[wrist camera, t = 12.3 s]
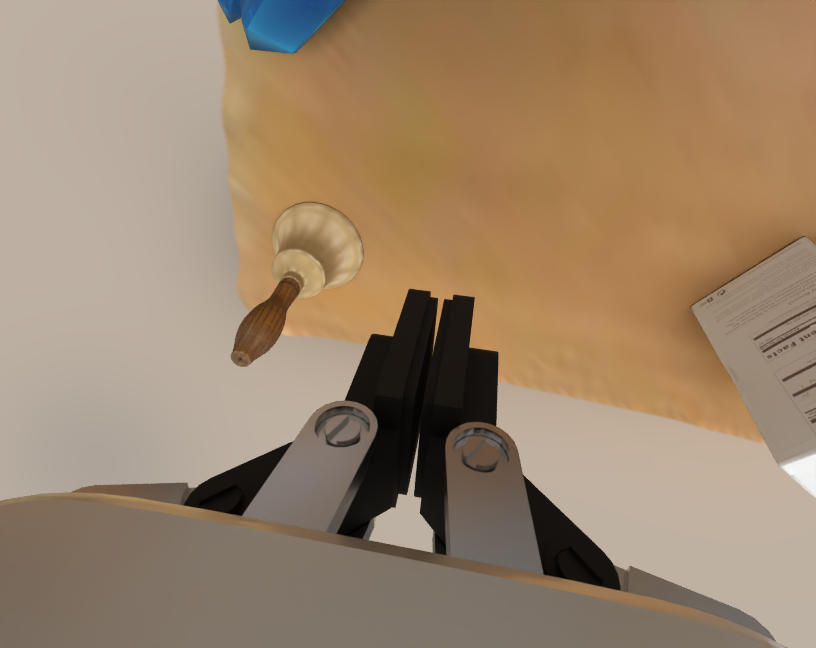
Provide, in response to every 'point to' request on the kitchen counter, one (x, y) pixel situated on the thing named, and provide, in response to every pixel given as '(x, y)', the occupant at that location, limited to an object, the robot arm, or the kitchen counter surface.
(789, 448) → the supplement box
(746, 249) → the kitchen counter surface
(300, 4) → the crystal
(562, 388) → the kitchen counter surface
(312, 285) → the hand bell
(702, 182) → the kitchen counter surface
